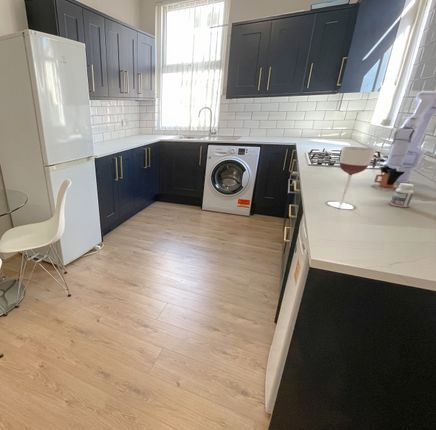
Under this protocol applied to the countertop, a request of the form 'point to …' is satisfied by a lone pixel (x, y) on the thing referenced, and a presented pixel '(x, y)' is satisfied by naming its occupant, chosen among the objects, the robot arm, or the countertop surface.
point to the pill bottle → (402, 195)
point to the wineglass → (353, 167)
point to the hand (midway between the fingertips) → (386, 183)
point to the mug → (383, 180)
